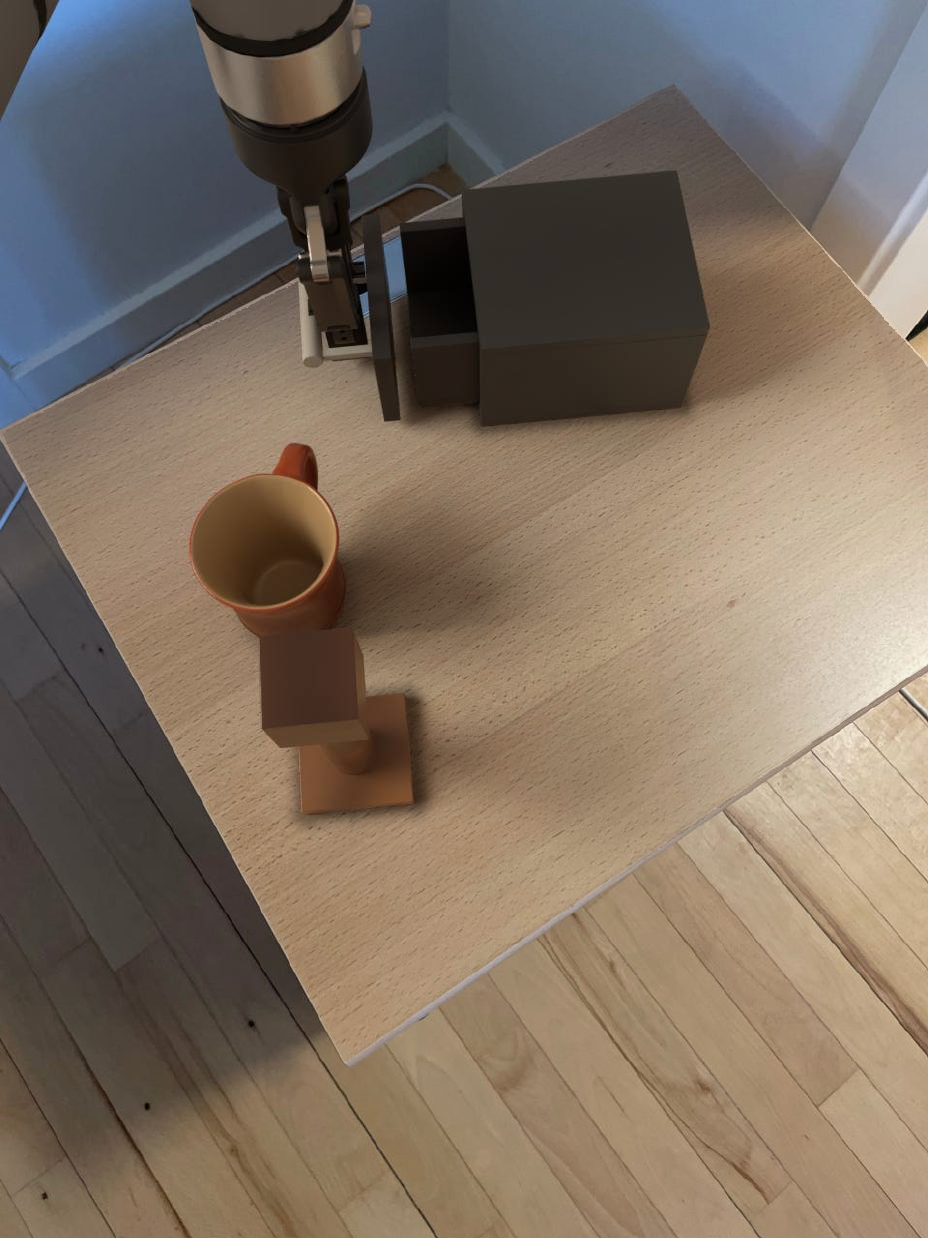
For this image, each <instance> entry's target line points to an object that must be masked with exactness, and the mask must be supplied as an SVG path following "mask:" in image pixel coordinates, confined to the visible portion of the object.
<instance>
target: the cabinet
mask: <svg viewBox="0 0 928 1238" xmlns="http://www.w3.org/2000/svg"><path fill="white" fill-rule="evenodd" d="M461 217H464V220H465V229H466V237H467V245H468V254H469V262H470V270H471V279H472V287H473V295H474V303H475V312H476V320H477V328H478V337H479V345H480V402H477V404H478V413H479V414H478V415H479V421H480V422H479V423H480V427H488V426H490V427H491V426H501V425H502V426H503V425H510V424H522V423H523V424H524V423H531V422H541V421H542V422H543V421H552V420H553V421H554V420H563V419H573V418H584V417H585V418H586V417H595V416H606V415H617V414H625V413H637V412H649V411H657V410H668V409H680V408H682V406H683V405H684V402H685V399H686V396H687V393H688V390H689V387H690V384H691V382H692V379H693V376H694V373H695V371H696V368H697V365H698V362H699V359H700V357H701V355H702V351H703V349H704V345H705V343H706V340H707V338H708V334H709V332H710V329H711V325H710V320H709V315H708V311H707V306H706V300H705V296H704V292H703V286H702V281H701V277H700V273H699V268H698V263H697V258H696V254H695V249H694V243H693V240H692V239H693V238H692V235H691V230H690V226H689V220H688V216H687V210H686V207H685V202H684V198H683V192H682V187H681V183H680V178H679V173H678V170H677V169H674V170H673V169H672V170H662V171H654V172H653V171H652V172H641V173H640V172H639V173H630V174H620V175H619V174H618V175H609V176H607V175H606V176H597V177H588V178H587V177H586V178H576V179H563V180H554V181H544V182H543V181H542V182H532V183H521V184H520V183H519V184H509V185H499V186H489V187H487V186H486V187H477V188H476V187H475V188H466V189H461Z"/></svg>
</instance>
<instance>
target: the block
mask: <svg viewBox="0 0 928 1238" xmlns="http://www.w3.org/2000/svg"><path fill="white" fill-rule="evenodd" d="M257 642H258V673H259V678H258V679H259V706H260V729H261V730H262V731H263V732H264V733H265V734H266V736H268V737H269V739H270V740H272V741H273V743H275V745H276V746H277V747H278V748H280V749H288V748H296V747H298V746H308V745H319V744H329V743H339V742H349V741H359V740H368V739H369V731H368V716H367V701H366V697H367V687H366V686H367V685H366V675H365V674H366V672H365V671H366V670H365V661H364V660H365V658H364V653H363V651H362V649H361V645H360V643H359V641H358V638H357V635H356V633H355V630H354V628H353V626H352V627H351V626H350V627H341V628H332V629H330V630H319V631H309V632H299V633H289V634H279V635H268V636H259V637H257ZM298 748H299V747H298Z"/></svg>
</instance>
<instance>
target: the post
mask: <svg viewBox="0 0 928 1238" xmlns="http://www.w3.org/2000/svg"><path fill="white" fill-rule="evenodd" d="M366 701H367V716H368V731H369V739H368V740H359V741H349V742H339V743H329V744H319V745H308V746H298V764H299V765H298V767H299V791H300V812H301V814H303V815H313V814H323V813H334V812H343V811H353V810H362V809H373V808H374V809H375V808H382V807H383V808H384V807H392V806H402V805H413V804H415V797H414V785H413V773H412V759H411V758H412V757H411V748H410V747H411V746H410V736H409V735H410V734H409V723H408V710H407V709H408V708H407V699H406V694H405V692H400V693H392V694H391V693H390V694H380V695H371V696H366Z"/></svg>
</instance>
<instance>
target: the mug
mask: <svg viewBox="0 0 928 1238" xmlns="http://www.w3.org/2000/svg"><path fill="white" fill-rule="evenodd" d="M318 467H319V466H318V461H317V457H316V453H315V451H314V449H313V448H312V447H311V446H310V445H309V444H304V443H299V442H290V443H288V444H287V445H285V446H284V448H283V450H282V452H281V454H280V456H279V460H278V462H277V465H276V466H275V468H274V469H273V470H272V472H271V473H256V474H251V475H248V476H245V477H243V478H239V479H237V480H235V481H233V482H231V483H229V484H228V485H226V486H224V487H222V488H221V489H220V490H219V491H217V492H216V493H215V494H213V495H212V496H211V498H210V499H208V500H207V502H206V503H205V504H204V505H203V506H202V508H201V509H200V511H199V513H198V514H197V516H196V518H195V520H194V523H193V525H192V528H191V531H190V536H189V542H188V543H189V545H188V548H189V549H188V551H189V552H188V553H189V558H190V559H189V560H190V564H191V569H192V570H193V573H194V576H195V577H196V579H197V581H198V583H199V584H200V586H201V587H202V588H203V589H204V590H205V592H206V593H208V594H209V595H210V596H211V597H212V598H213V599H215V600H216V601H217V602H219V603H221V604H222V605H225V606H226V607H228V608H231V609H232V610H233V611H234V612H235V614H236V616H237V618H238V620H239V621H240V623H241V624H242V625H243V626H244V628H245V629H247V630H248V631H249V632H250V633H251V634H253V635H254V636H255V637H257V638H258V637H259V636H268V635H279V634H289V633H299V632H309V631H319V630H330V629H334V627H335V626H336V624H337V623H338V621H339V620H340V618H341V615H342V613H343V610H344V607H345V601H346V594H347V581H346V580H347V579H346V575H345V571H344V568H343V567H342V564H341V562H340V560H339V557H338V554H339V547H340V530H339V525H338V521H337V518H336V514H335V513H334V510H333V508H332V507H331V505H330V504H329V502H328V501H327V500H326V498H325V497H324V496H323V495H322V493H320V491H319V468H318Z"/></svg>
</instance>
